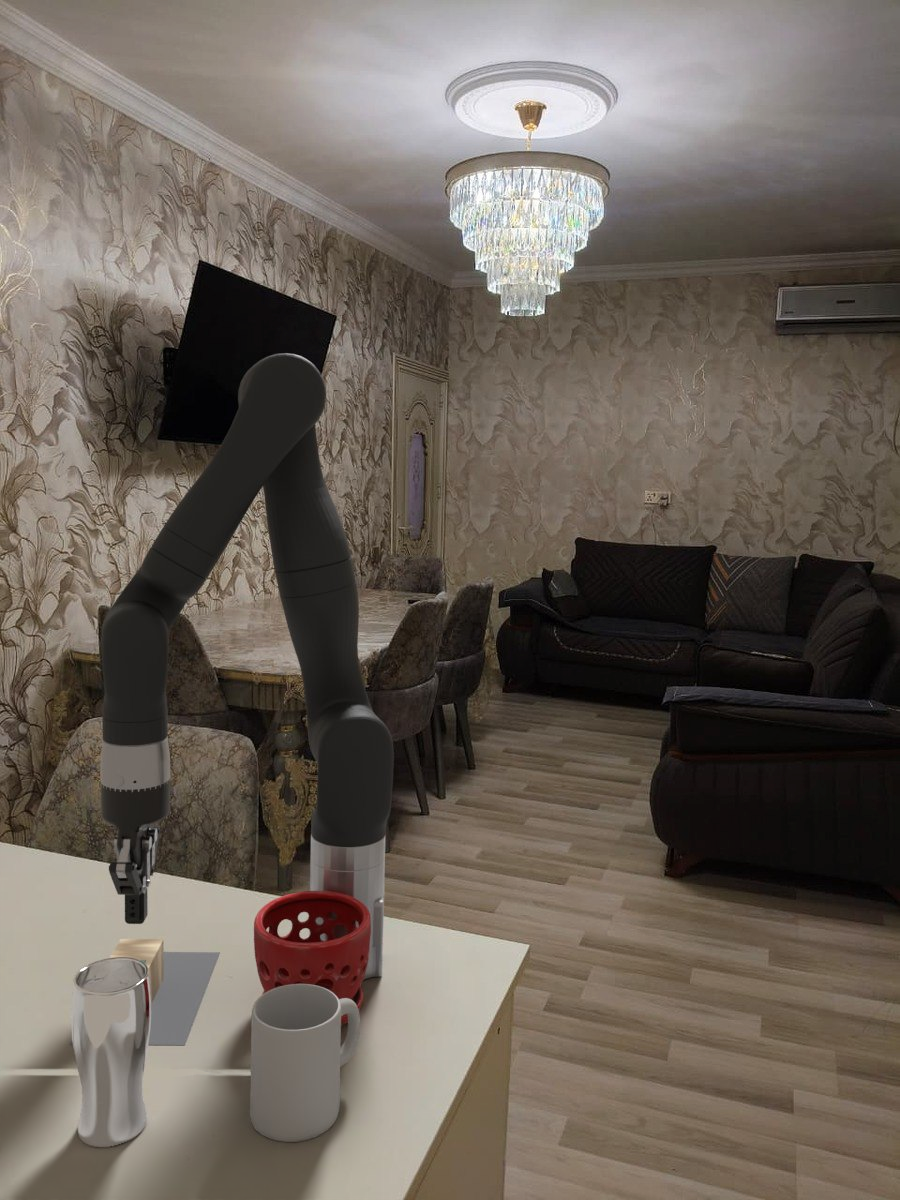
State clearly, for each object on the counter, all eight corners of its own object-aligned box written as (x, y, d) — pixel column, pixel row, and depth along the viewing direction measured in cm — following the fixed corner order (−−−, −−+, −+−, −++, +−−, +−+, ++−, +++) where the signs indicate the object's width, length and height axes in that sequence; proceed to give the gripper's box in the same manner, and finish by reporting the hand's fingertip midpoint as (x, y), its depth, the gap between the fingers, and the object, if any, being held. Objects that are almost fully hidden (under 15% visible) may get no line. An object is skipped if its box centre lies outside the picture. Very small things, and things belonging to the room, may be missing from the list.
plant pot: (244, 993, 112) (245, 896, 111) (351, 976, 117) (353, 883, 116) (264, 1056, 100) (265, 949, 99) (383, 1034, 105) (386, 931, 104)
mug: (285, 1157, 86) (287, 1043, 84) (232, 1111, 91) (233, 1004, 90) (384, 1097, 94) (387, 994, 93) (329, 1060, 100) (331, 961, 99)
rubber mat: (220, 956, 121) (220, 952, 121) (184, 1049, 101) (184, 1045, 101) (124, 955, 120) (124, 951, 120) (69, 1049, 100) (69, 1044, 100)
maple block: (163, 938, 113) (135, 991, 101) (163, 978, 114) (135, 1036, 102) (120, 937, 113) (88, 991, 101) (121, 978, 114) (88, 1036, 102)
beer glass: (85, 1102, 92) (83, 956, 90) (158, 1100, 93) (158, 955, 91) (62, 1152, 85) (60, 995, 83) (142, 1150, 86) (141, 994, 84)
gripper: (154, 796, 102) (154, 949, 104) (182, 760, 115) (182, 896, 117) (82, 795, 101) (84, 948, 104) (119, 758, 115) (120, 896, 117)
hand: (136, 920), depth 110 cm, fingers closed
